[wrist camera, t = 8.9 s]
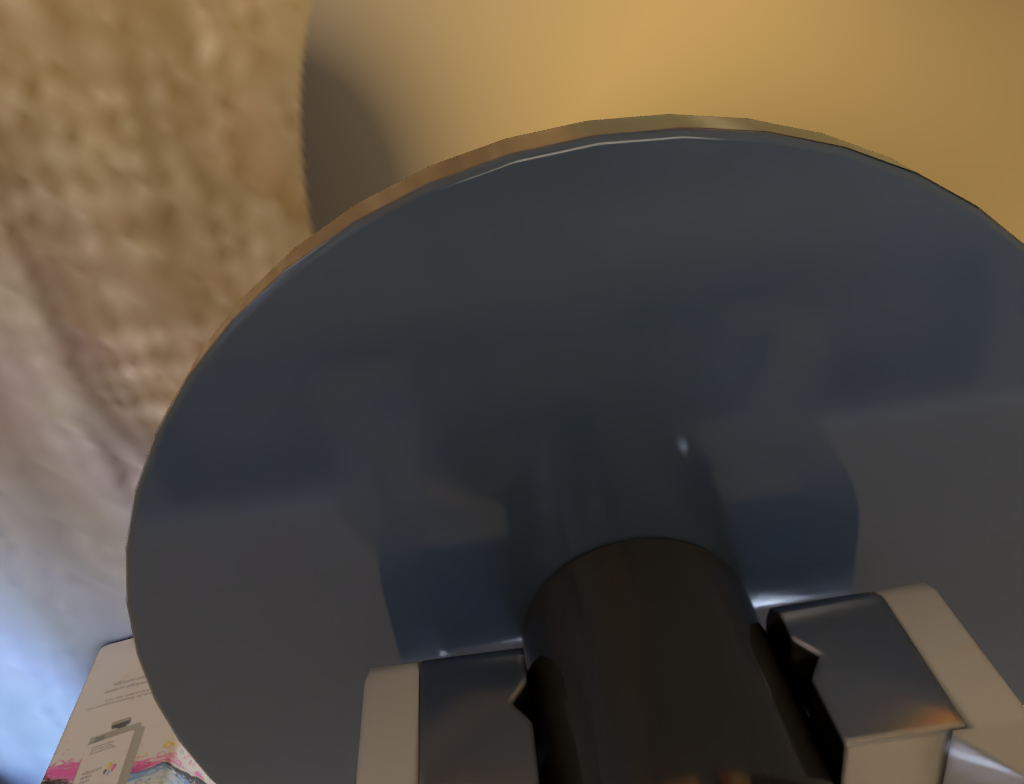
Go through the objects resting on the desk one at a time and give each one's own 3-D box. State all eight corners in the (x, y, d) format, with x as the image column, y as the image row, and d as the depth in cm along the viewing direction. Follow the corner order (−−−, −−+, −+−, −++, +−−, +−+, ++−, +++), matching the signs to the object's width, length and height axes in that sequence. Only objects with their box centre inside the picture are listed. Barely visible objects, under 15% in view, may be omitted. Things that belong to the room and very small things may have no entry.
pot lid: (645, 902, 14) (724, 1264, 10) (-1, 646, 10) (-247, 1071, 6) (1221, 457, 10) (1661, 767, 7) (549, -183, 7) (701, -295, 3)
